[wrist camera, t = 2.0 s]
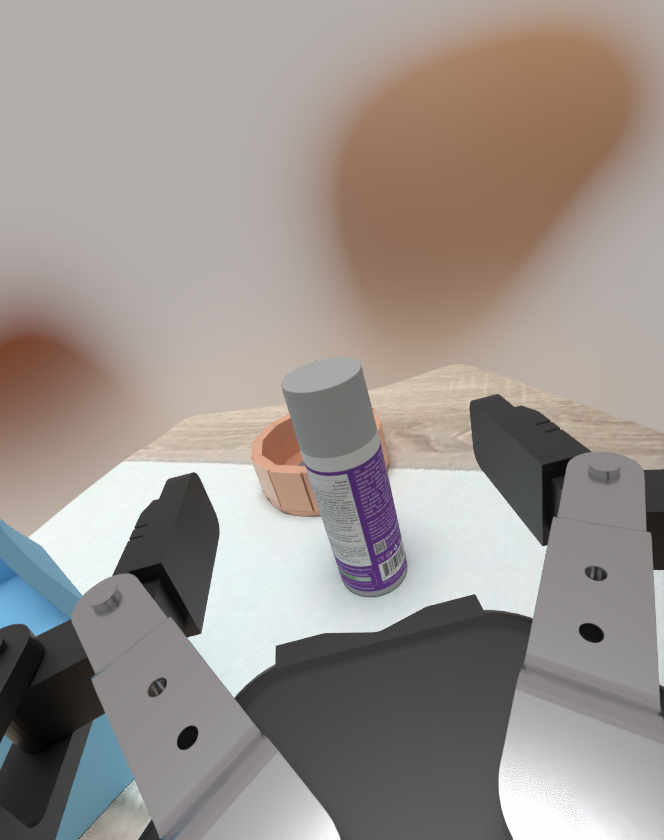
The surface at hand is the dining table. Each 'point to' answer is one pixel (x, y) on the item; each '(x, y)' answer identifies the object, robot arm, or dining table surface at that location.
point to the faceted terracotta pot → (289, 467)
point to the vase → (41, 611)
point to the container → (347, 472)
